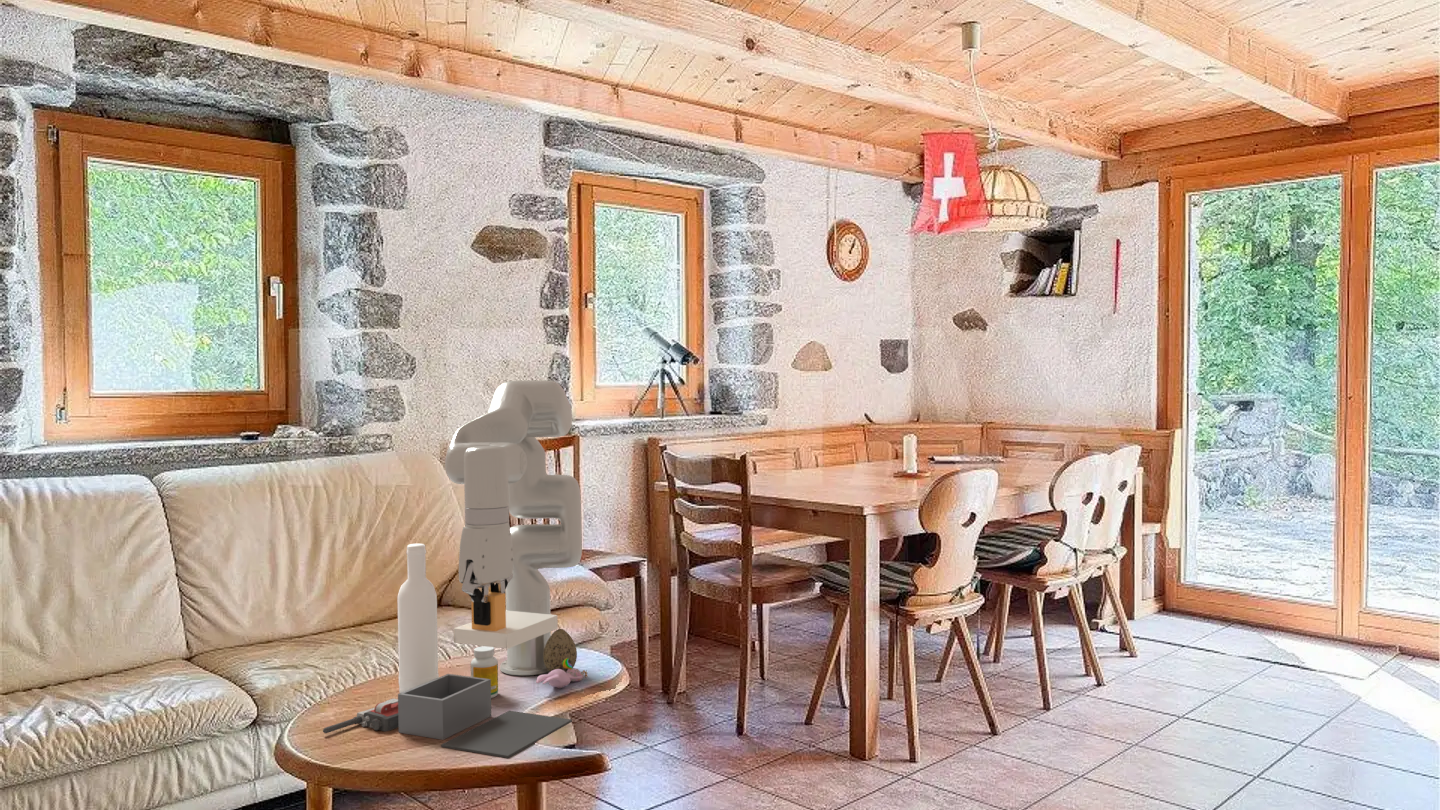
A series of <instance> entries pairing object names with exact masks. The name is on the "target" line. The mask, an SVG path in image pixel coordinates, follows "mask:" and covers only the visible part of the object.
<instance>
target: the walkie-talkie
mask: <svg viewBox="0 0 1440 810" xmlns="http://www.w3.org/2000/svg"><path fill="white" fill-rule="evenodd" d="M358 724H359V725H361V726H362V727H366V728H370V729H373V730H374V731H382V732H389V731H392V730H395V729H397V728H398V729H399V723H398V698H391V699H388V700H385V701H381V702H378V703H377V704H376V705H375V706H374V707H372V708H369V709H366V710H363V711H358V712H357V713H356V716H355V717H354V716H353V718H351V719H348V720H344V721H341V722H339V723H335V724H333V725H329V726H326V727H324V728H323V729H322V732H323V733H324V734H328V733H332V732H334V731H337V730H339V729H343V728H346V727H349V726H352V725H358Z"/></svg>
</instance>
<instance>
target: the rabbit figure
mask: <svg viewBox="0 0 1440 810" xmlns="http://www.w3.org/2000/svg"><path fill="white" fill-rule="evenodd" d="M562 665H563V667H564V668H567V669H568V670H567V672H565V671H563V670H561V669H555V670H552V671H551V672H548V673H543V674H539V675H538V676H537V678H536V681H535V682H536V683H535V684H539V683H542V685H545V684H547V683H548V684H549V686H551V687H553V688H554V687H555V688H557V689H563V688H564V687H566V686H567V687H568V685H569V684H570V683H572V682H574V683H575V682H581V681H582V680H584V678H585V679H587V677H588V672H587V671H588V670H587V669H586V671H585V669H584V670H582V671H581V670H579V669H578V668H574V667H572V665H571V664H569V663H568V658H566V659H564V661H563V663H562Z"/></svg>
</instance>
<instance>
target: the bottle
mask: <svg viewBox="0 0 1440 810" xmlns="http://www.w3.org/2000/svg"><path fill="white" fill-rule="evenodd" d="M426 554H427V550H426V545H425V544H424V543H411V544H410V543H409V544H408V545H407V546H406V556H407V557H406V558H407V559H406V560H407V562H406V563H407V579H406V580H405V581H404V582H403V583H402V584H401V585H400V588H399V590H398V594H397V641H398V642H397V643H398V686H399V689H398V692H399V694H400V693H402V692H404V691H407V690H409V689H412V688H414V687H417V686H419V685H422V684H424V683H427V682H429V681H431V680H434V679H436V678H439V677H440V674H439V656H438V655H439V654H438V653H439V652H438V651H439V647H438V642H439V641H438V599H437V598H438V597H437V596H438V595H437V592H436V589H435V586H434V584H433V583H432V582H431V580H429V579H428V578H427V572H426V571H427V567H426V566H427V563H426V561H427V560H426Z"/></svg>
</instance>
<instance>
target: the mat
mask: <svg viewBox="0 0 1440 810" xmlns="http://www.w3.org/2000/svg"><path fill="white" fill-rule="evenodd" d="M570 723H573V719H571V718H564V717H563V718H562V717H556V716H549V715H543V714H537V713H529V712H522V711H516V710H508V711H505V712H504V713H501V714H500V715H497V716H495V717H494V718H492V719H490V720H488V721H485V722H484V723H482V724H479V725H478V726H476V727H474V728H472V729H469V730H467V731H466V732H464V733H462V734H460V735H458V736H455V737H453V738H451V739H450V740H448V741H447V740H446V741H445V742H444V743H442V744H440V747H441V748H446V749H451V750H456V751H457V750H458V751H464V752H471V753H475V754H481V755H487V756H493V757H499V758H506V759H509V758H511V757H512V756H515V755H516V754H517V753H518V754H519V752H521V751H523V750H525V749H526V748H528V747H530V746H533V744H535V743H538V742H540V741H541V740H542V739H545V737H548V736H550V735H552V734H553V733H554V732H557V731H558V730H560V729H562V728H563V727H565V726H567V725H569V724H570Z"/></svg>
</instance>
